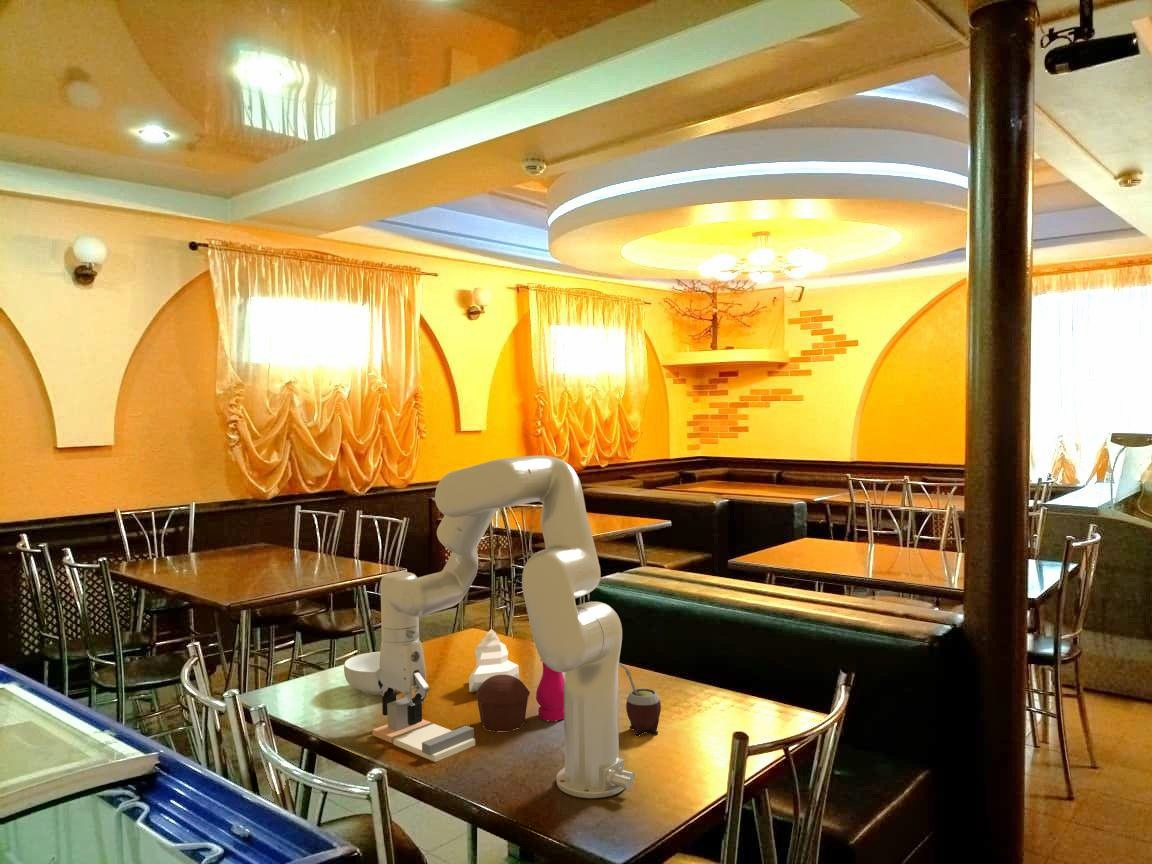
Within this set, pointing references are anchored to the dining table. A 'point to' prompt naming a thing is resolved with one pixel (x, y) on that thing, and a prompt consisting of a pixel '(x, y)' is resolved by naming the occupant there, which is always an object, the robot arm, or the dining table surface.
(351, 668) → the cereal bowl
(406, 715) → the pink base grey block
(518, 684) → the muffin
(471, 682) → the soft serve ice cream
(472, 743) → the base
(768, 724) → the dining table surface
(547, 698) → the pepper mill
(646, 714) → the mate gourd
